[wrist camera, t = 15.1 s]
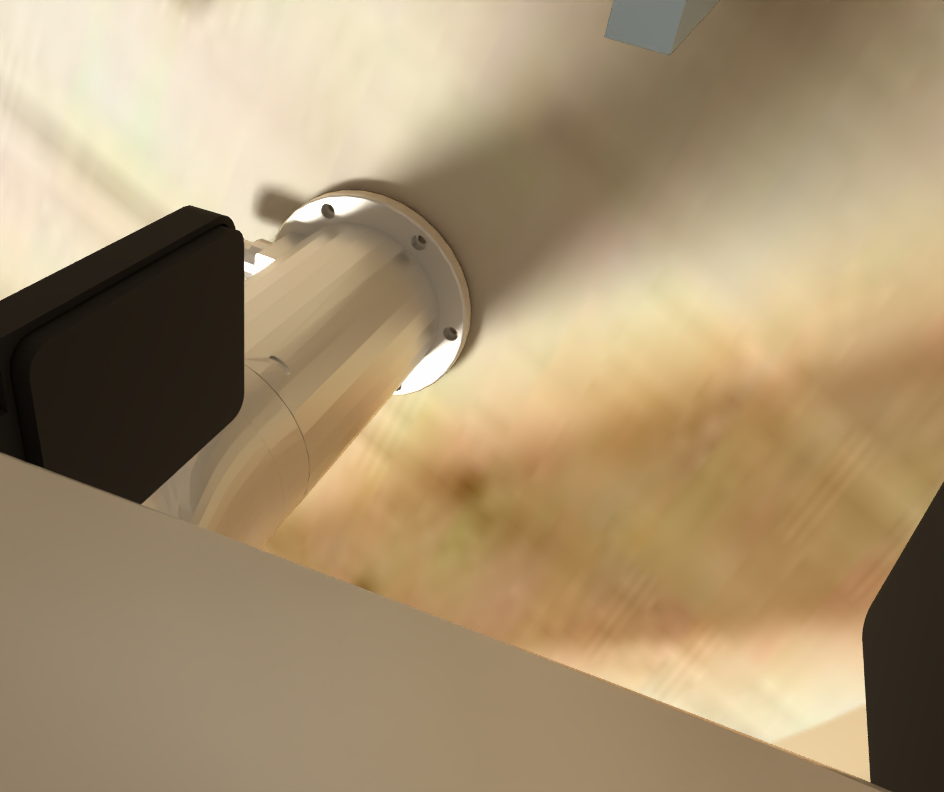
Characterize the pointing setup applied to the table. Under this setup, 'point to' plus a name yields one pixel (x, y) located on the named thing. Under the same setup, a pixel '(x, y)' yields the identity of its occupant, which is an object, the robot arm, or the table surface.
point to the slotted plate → (656, 22)
